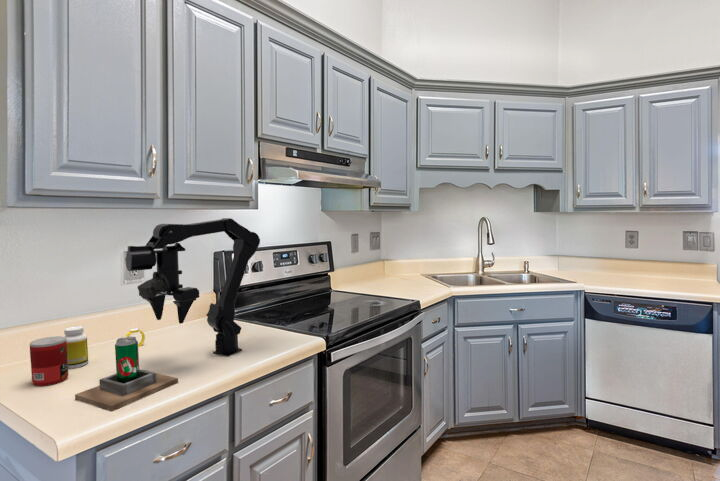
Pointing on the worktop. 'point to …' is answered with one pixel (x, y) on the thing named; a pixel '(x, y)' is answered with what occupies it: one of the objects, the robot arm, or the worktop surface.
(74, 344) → the pill bottle
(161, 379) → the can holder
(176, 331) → the worktop surface
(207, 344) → the worktop surface
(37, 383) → the canned food
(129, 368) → the soda can
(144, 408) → the worktop surface
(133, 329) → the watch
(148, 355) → the worktop surface
